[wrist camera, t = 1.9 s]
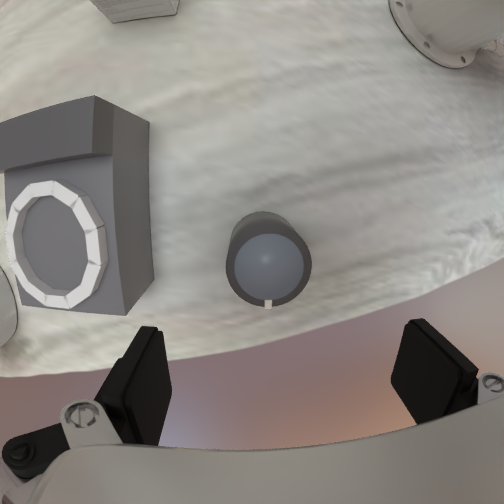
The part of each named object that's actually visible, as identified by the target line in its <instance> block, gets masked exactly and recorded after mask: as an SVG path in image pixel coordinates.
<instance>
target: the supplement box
mask: <svg viewBox="0 0 504 504" xmlns="http://www.w3.org/2000/svg"><path fill="white" fill-rule="evenodd" d="M90 1H91V2H92V3H93V4H94V5H95V6H96V7H97V8H98V9H99V10H100V11H101V12H102V13H103V14H104V15H105V16H106V17H107V18H108V19H109V20H110V21H111V22H112V23H116V22H122V21H128V20H134V19H140V18H148V17H156V16H166V15H175V14H176V12H177V7H178V3H179V0H90Z"/></svg>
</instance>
